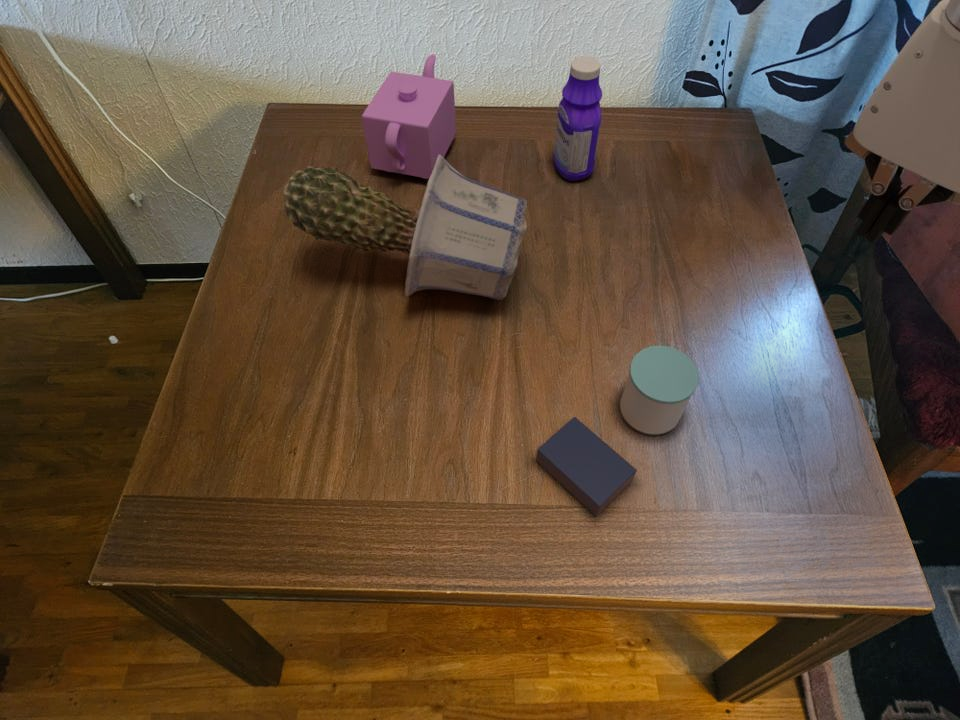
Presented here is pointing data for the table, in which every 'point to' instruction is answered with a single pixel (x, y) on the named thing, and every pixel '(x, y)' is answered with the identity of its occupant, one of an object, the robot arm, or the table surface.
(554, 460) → the dark rectangular block
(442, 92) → the teapot
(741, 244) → the table surface
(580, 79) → the bottle
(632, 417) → the beige cylinder teal cap
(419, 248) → the potted plant
